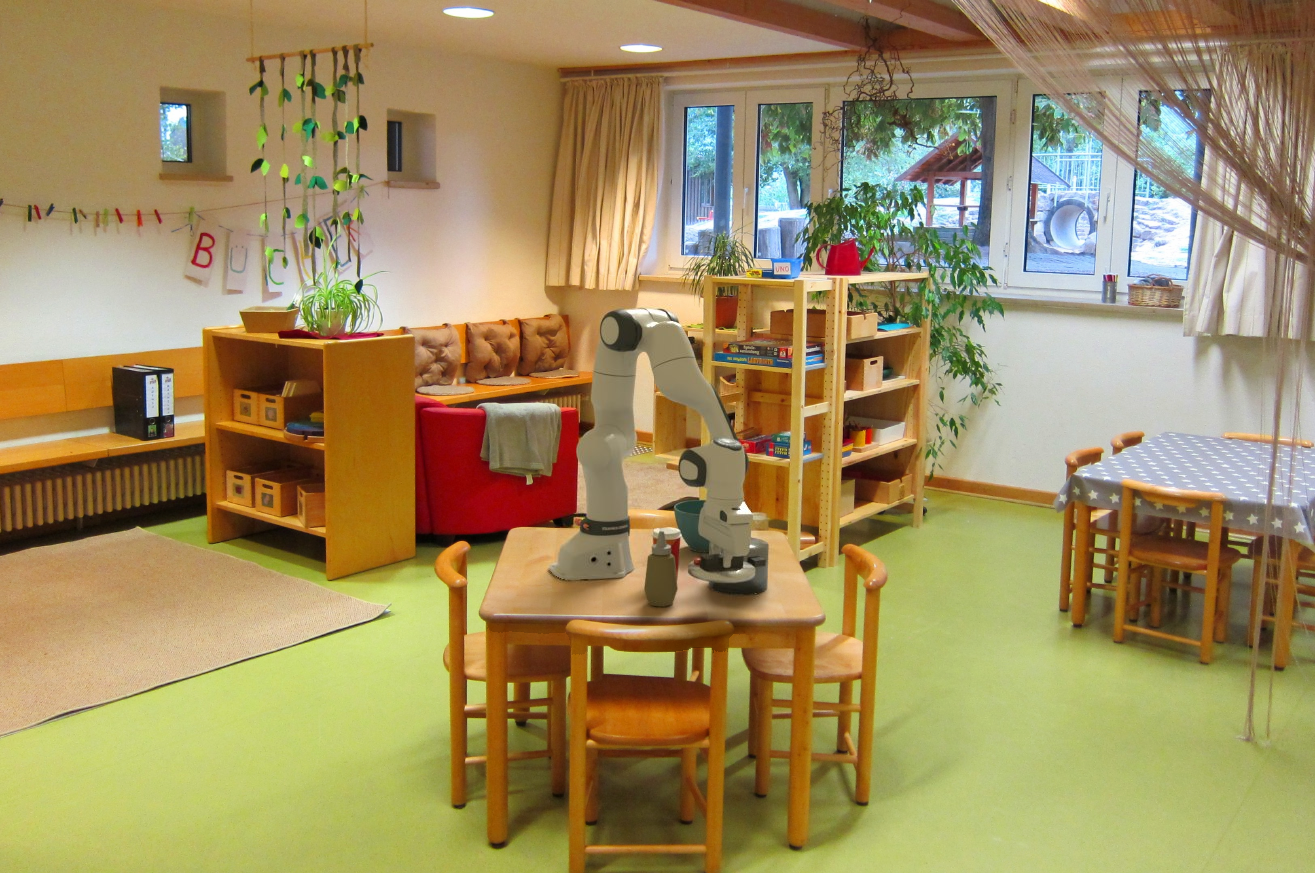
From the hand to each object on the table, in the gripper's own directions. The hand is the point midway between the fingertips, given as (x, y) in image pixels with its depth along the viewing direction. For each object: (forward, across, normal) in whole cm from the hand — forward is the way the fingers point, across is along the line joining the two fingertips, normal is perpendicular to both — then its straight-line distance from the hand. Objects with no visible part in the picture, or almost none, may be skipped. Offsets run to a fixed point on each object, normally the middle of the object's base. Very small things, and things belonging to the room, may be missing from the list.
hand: (721, 563), depth 275 cm
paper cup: (+12, -23, -3) cm, 26 cm away
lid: (+2, 0, 0) cm, 2 cm away
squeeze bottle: (+12, -9, -11) cm, 19 cm away
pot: (+11, -14, +13) cm, 22 cm away
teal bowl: (+12, -49, +20) cm, 54 cm away
